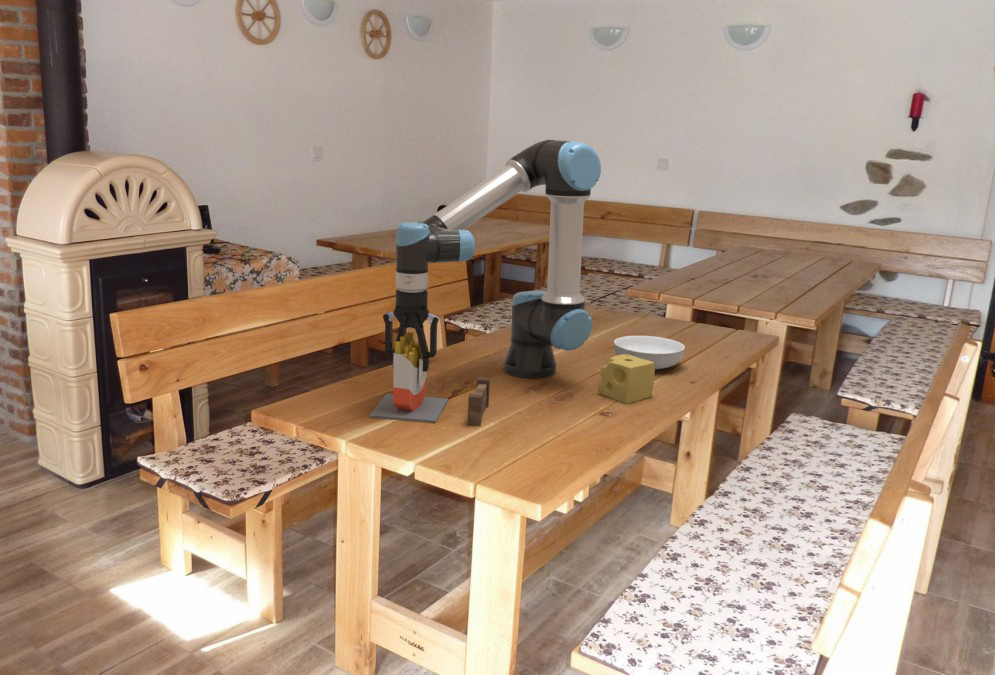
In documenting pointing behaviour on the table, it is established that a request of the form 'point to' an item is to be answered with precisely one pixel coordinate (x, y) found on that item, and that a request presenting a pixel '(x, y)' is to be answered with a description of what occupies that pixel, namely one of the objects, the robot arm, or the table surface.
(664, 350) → the serving bowl
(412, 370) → the french fries container
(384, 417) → the slate mat
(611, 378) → the cheese
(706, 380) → the table surface
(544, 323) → the robot arm
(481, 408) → the walnut fence
